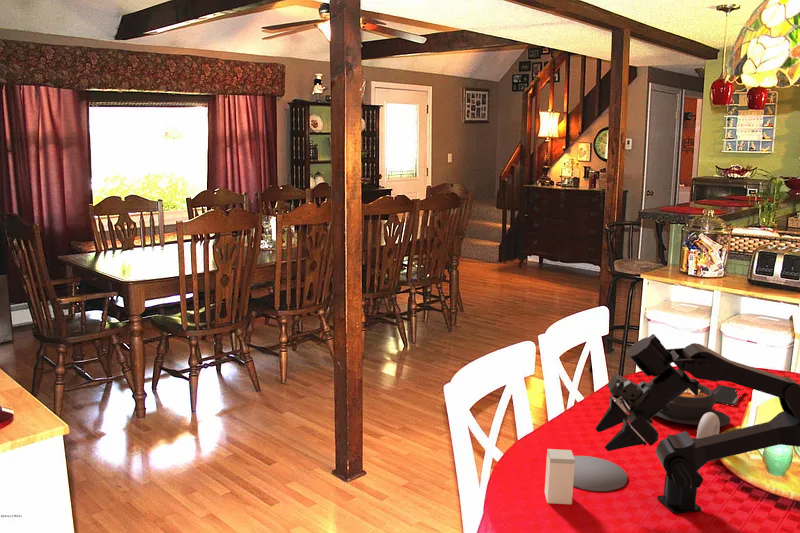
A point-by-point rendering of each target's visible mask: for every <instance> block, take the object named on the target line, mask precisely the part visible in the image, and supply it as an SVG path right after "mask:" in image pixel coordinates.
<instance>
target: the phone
mask: <svg viewBox="0 0 800 533" xmlns="http://www.w3.org/2000/svg"><path fill="white" fill-rule="evenodd" d="M736 389H737V388H735V387H731V386H727V385H722V384H721V385H720V384H718V385H716V386H715V387H714V389H713V390H712V391H713V393H714V397H715V398H716V400H717V402H718V403H723V404H728V405H735V404H736V403H737V402H738V400H739V399H740V397H741V396H740V397H739V399H738V398H737V395H738V394H736V393H737V391H736V392H735V390H736ZM738 389H739V390H742V389H740V388H738ZM740 400H741V399H740ZM738 403H739V402H738ZM738 403H737V404H738ZM723 404H722V405H723ZM737 404H736V405H737Z"/></svg>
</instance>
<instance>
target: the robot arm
mask: <svg viewBox="0 0 800 533" xmlns="http://www.w3.org/2000/svg"><path fill="white" fill-rule="evenodd" d="M626 355H627V357H629V359H630V360H631V361H632V362H633V363H634V365H636V367H637V368H638V369H639V370H641V372H642V373H643V374H644V375H645V376H646V377H651V376H652V377H653V378H652V379H651V380H649V381H648V382H646V381H645V380H643V381H640V382H639V383H638V384H637V383H636V382H634V381H631V380H630V379H628V378H626V377H624V376H622V375H620V374H618V373H613V375H612V376H611V378H610V379H609V380H608V381H609V382H608V383H607V385H606V387H607V388H608V389H609V393H610V394H609V396H608V399H609V402H608V403H609V404H608V405H609V406H608V408H607V410H606V411H605V412H604V415H603V416H602V418H601V419H600V420H599V422H598V423H597V425H596V426H595V431H597V432H598V433H601V432H604V431H607V430H609V429H611V428H613V427H615V426H619V425H621V424H622V426H621V429H620V430H618V431H617V433H616V434H615V435H613V437H612V438H611V439H610V440H609V441H608V442H607V444H605V445H604V449H605V450H606V451H607V452H611V451H616V450H621V449H624V448H628V447H636V446H647V444H648V445H649V446H650V447H651V446H652V445H654V444H655V443H656V442H658V441H659V434H660V433H659V432H658V430H657V429H656V428H655V426H653V423H654V421H653V419H652V418H653V417H655V416H656V414H657V413H658V412H660V411H661V410H662V409H663V410H664V411H665V412H666V411H668V410H669V408H668V407H667V405H668V404H670V403H671V402H672V401H673V400H675V399H676V398H677V397H678V396H680V395H681V394H682V393H683V392H684V391H686V390H687V389H688V388H689V389H690V390H691V391H692V392H693V393H694V394H695V395H698V386H699V384H700V382H699V381H698V380H703V381H704V380H705V381H709V382H728V383H729V382H730V383H732V384H736V385H739V386H742V387H745V388H748V389H751V390H755V391H758V392H762V393H764V394H767V395H771V396H774V397H777V398H778V399H779V404H780V407H781V409H782V410H783V411H780V412H779V413H778V414H776V415H775V416H774V417H773V418H772V419H770V420H769V421H766V422H762V423H757V424H754V425H749V426H745V427H742V428H737V429H733V430H730V431H726V432H721V433H719V434H716V435H712V436H708V437H704V438H697V437H691V435H690V434H689V432H688V431H681V432H679V433H676V434H667V435H666V438H663V439H662V440H660V441H659V442H658V444H657V446H656V448H655V449H656V450H655V455H656V457H657V458H658V461H659V463H660V464H661V465H662V467H663V470H664V471H665V478H664V486H663V494H662V495H657V500H659V502H660V503H662V505H664V506H665V507H666V508H667V509H668V510H669V511H670V512H672V513H673V514H682V513H683V514H684V513H691V512H701V511H702V507H701V506H700V505H698V504H697V503H696V502H697V501H696V500H697V491H698V488H700V487H701V485H702V483H703V481H704V477H703V476H702V475H701V473H700V471H699V470H700V469H701V468H703V467H704V466H705V465H706V464H707V463H709V462H712V461H716V460H719V459H725V458H729V457H733V456H738V455H742V454H747V453H749V452H754V451H758V450H763V449H766V448H771V447H775V446H780V445H781V446H782V445H783V446H789V447H800V384H799V383H797V381H795V380H794V379H792V378H790V377H789V376H782V375H778V374H775V373H771V372H768V371H765V370H762V369H759V368H755V367H752V366H749V365H746V364H743V363H739V362H737V361H734V360H731V359H729V358H726V357H725V356H723V355H722V354H720V353H718V352H716V351H714V350H712V349H711V348H709V347H706V346H705V345H703V344H700V343H696V342H695V343H694V342H693V343H690V344H689V345H686V346H685V347H680V348H666V347H665V346H664V345H663V344H662V343H661V340H660V339H659V338H658V337H657V336H656V334H654V333H652V334H651V335H649V336H648V337H644V338H641V339H640V340H637V341H635V342H634V343H633V344H632V345H631V346H630V347H629V348H628V350H627V352H626ZM672 363H673V364H674V365H675V366H676V367H677V369H675V368H674V367H673V366H672V365H671V364H672ZM687 372H688V373H689V374H690V375H691V376H692V377H693V378H691V377H690V376H689V375H688V373H687Z"/></svg>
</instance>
